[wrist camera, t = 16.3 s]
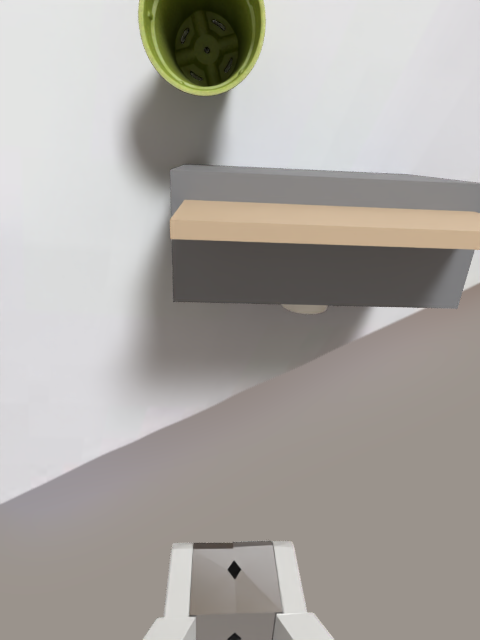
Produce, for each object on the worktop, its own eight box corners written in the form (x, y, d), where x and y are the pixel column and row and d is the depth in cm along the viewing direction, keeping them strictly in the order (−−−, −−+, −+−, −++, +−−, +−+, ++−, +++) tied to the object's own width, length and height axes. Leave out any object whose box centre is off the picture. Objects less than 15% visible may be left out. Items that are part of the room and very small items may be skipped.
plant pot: (140, 74, 37) (118, 53, 29) (181, -37, 33) (169, -96, 26) (227, 126, 39) (229, 119, 31) (273, 26, 36) (289, -11, 28)
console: (186, 257, 44) (156, 355, 23) (185, 164, 40) (148, 177, 19) (390, 264, 45) (537, 361, 24) (409, 174, 41) (604, 197, 20)
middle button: (278, 297, 39) (285, 313, 35) (281, 262, 38) (288, 275, 34) (320, 298, 39) (332, 314, 35) (325, 264, 38) (337, 277, 34)
